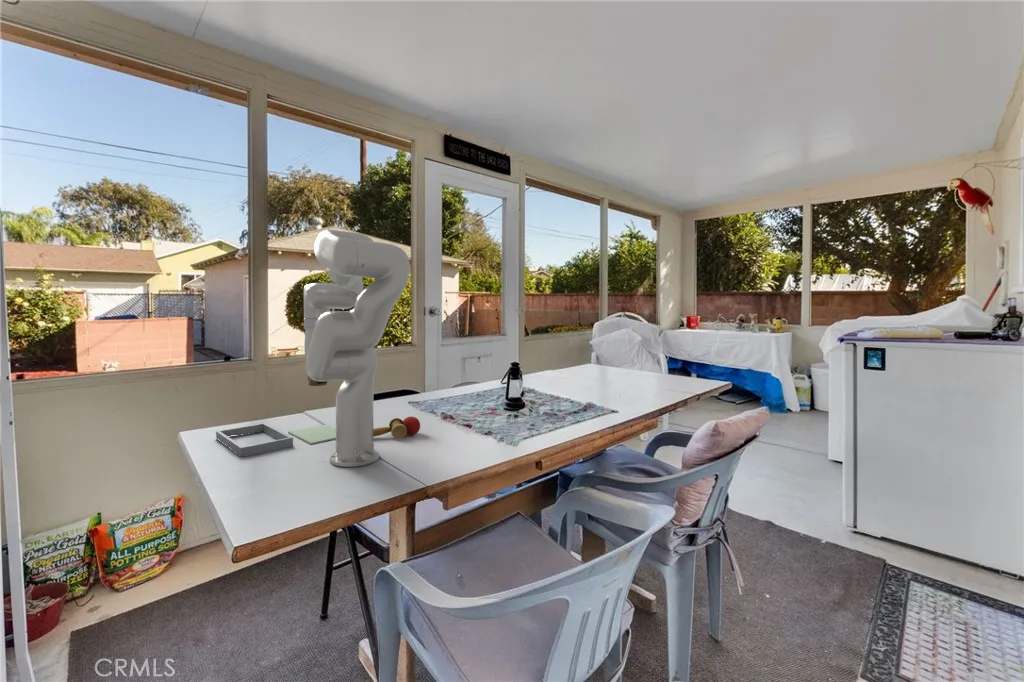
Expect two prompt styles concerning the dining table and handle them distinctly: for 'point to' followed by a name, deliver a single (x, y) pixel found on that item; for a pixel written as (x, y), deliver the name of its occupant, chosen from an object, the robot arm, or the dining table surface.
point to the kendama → (399, 427)
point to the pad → (315, 434)
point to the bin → (282, 442)
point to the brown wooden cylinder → (315, 383)
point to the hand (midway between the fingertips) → (317, 381)
